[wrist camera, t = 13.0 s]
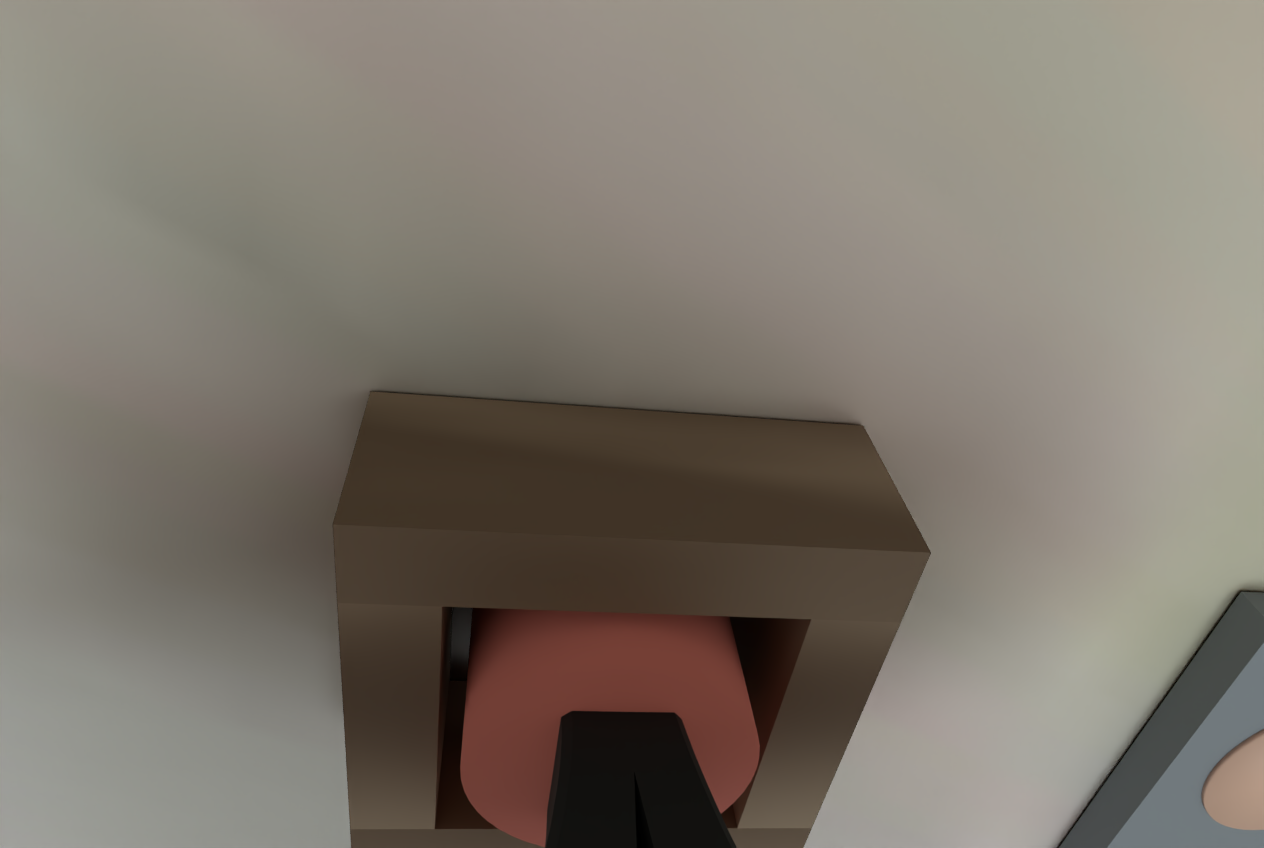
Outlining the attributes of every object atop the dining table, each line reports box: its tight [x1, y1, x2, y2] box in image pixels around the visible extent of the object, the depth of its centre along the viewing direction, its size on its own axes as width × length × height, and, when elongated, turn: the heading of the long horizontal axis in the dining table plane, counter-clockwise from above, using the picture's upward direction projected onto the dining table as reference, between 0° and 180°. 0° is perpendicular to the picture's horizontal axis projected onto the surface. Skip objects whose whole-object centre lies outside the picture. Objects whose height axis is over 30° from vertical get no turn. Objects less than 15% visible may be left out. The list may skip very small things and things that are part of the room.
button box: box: [333, 392, 931, 848], centre depth 12 cm, size 6×6×2 cm
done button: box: [460, 608, 760, 847], centre depth 12 cm, size 4×4×3 cm
